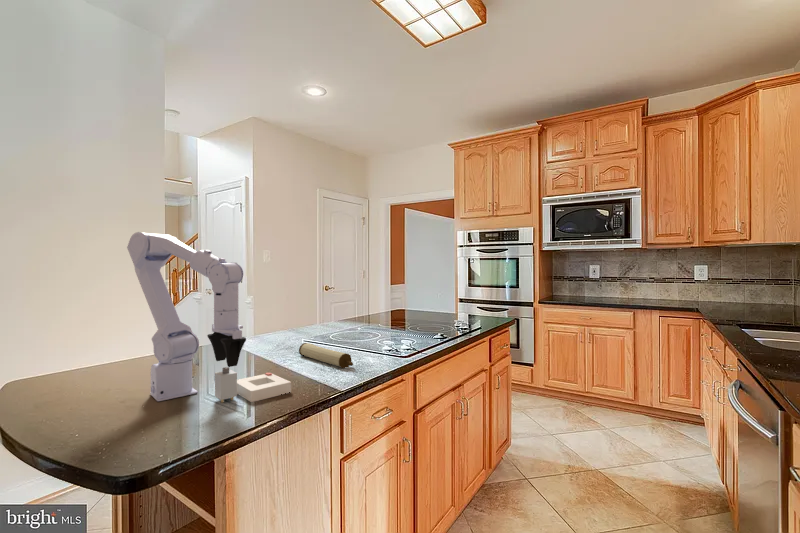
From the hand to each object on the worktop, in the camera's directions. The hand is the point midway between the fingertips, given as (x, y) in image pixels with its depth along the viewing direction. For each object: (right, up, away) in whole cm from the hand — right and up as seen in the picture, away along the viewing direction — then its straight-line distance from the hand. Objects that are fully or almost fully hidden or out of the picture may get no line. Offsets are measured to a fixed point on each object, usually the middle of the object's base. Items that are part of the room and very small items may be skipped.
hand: (226, 363), depth 101 cm
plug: (0, -9, 0) cm, 9 cm away
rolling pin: (+17, -9, +39) cm, 44 cm away
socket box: (+7, -9, +7) cm, 13 cm away
